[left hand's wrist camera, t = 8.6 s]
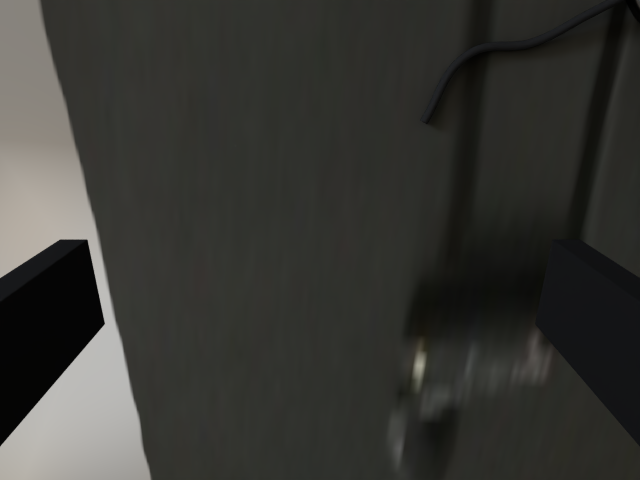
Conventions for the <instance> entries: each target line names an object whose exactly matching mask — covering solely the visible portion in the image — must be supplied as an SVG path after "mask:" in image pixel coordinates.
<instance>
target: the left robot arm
mask: <svg viewBox="0 0 640 480" xmlns="http://www.w3.org/2000/svg"><path fill="white" fill-rule="evenodd" d="M623 1H625V0H606V1H604V2H602V3H600V4H598V5H596V6H594V7H593V8H591V9H589V10H587V11H585V12H583V13H581V14H579V15H577V16H576V17H574V18H572V19H570V20H569V21H567V22H565V23H563V24H562V25H560V26H558V27H556V28H555V29H553V30H551V31H549V32H547V33H545V34H542V35H540V36H538V37H535V38H532V39H529V40H524V41H517V42H490V43H484V44H480V45H477V46H475V47H473V48H471V49H469V50H467V51H466V52H464V53H463V54H462V55H460V56H459V57H458V58H457V59H456V60H455V61H454V62H453V63H452V64H451V65H450V66H449V68H448V69H447V70H446V72H445V73H444V75H443V77H442V78H441V80H440V82H439V84H438V86H437V88H436V90H435V92H434V95H433V97H432V99H431V101H430V103H429V105H428V107H427V109H426V111H425V113H424V115H423V117H422V118H421V121H422V122H424V123H426V124H427V123H428V122H429V120H430V118H431V117H432V115H433V113H434V111H435V109H436V107H437V105H438V103H439V101H440V99H441V96H442V94H443V92H444V90H445V88H446V86H447V84H448V82H449V81H450V79H451V77H452V76H453V75H454V73H455V72H456V71H457V70H458V68H459V67H460V66H461V65H462V64H463V63H465V62H466V61H467V60H469V59H470V58H472V57H473V56H475V55H477V54H480V53H483V52H487V51H510V50H522V49H527V48H531V47H535V46H537V45H540V44H543V43H545V42H547V41H549V40H552V39H554V38H556V37H557V36H559V35H561V34H563V33H565V32H566V31H568V30H570V29H572V28H573V27H575V26H577V25H579V24H581V23H582V22H584V21H586V20H588V19H590V18H592V17H594V16H596V15H598V14H600V13H602V12H604V11H606V10H607V9H609V8H611V7H613V6H615V5H617V4H619V3H621V2H623ZM626 2H627V4H628V6H629V8H630V10H631V12H632V14H633V15H634V17H635V18H636V19H637V21H638V22H639V23H640V0H626ZM104 324H105V322H104V318H103V313H102V308H101V303H100V298H99V294H98V289H97V284H96V279H95V274H94V269H93V265H92V260H91V255H90V250H89V245H88V240H59V241H57V242H56V243H54V244H53V245H51V246H50V247H48V248H46V249H45V250H43V251H42V252H40V253H39V254H37V255H36V256H34V257H32V258H31V259H29V260H28V261H26V262H25V263H23V264H22V265H20V266H18V267H17V268H15V269H14V270H12V271H11V272H9V273H8V274H6V275H4V276H3V277H1V278H0V446H1V445H2V444H3V442H4V441H5V440H6V439H7V438H8V437H9V435H10V434H11V433H12V432H13V431H14V430H15V428H16V427H17V426H18V425H19V424H20V423H21V421H22V420H23V419H24V418H25V417H26V416H27V414H28V413H29V412H30V411H31V410H32V409H33V407H34V406H35V405H36V404H37V403H38V401H39V400H40V399H41V398H42V397H43V396H44V395H45V393H46V392H47V391H48V390H49V389H50V387H51V386H52V385H53V384H54V383H55V382H56V380H57V379H58V378H59V377H60V376H61V375H62V373H63V372H64V371H65V370H66V369H67V368H68V366H69V365H70V364H71V363H72V362H73V361H74V359H75V358H76V357H77V356H78V355H79V354H80V352H81V351H82V350H83V349H84V348H85V347H86V345H87V344H88V343H89V342H90V341H91V340H92V338H93V337H94V336H95V335H96V334H97V333H98V331H99V330H100V329H101V328H102V327H103V326H104ZM535 324H536V326H537V327H538V328H539V329H540V330H541V331H542V333H543V334H544V335H545V336H546V337H547V338H548V340H549V341H550V342H551V343H552V344H553V345H554V347H555V348H556V349H557V350H558V351H559V352H560V354H561V355H562V356H563V357H564V358H565V359H566V361H567V362H568V363H569V364H570V365H571V366H572V368H573V369H574V370H575V371H576V372H577V373H578V375H579V376H580V377H581V378H582V379H583V380H584V382H585V383H586V384H587V385H588V386H589V388H590V389H591V390H592V391H593V392H594V393H595V395H596V396H597V397H598V398H599V399H600V400H601V402H602V403H603V404H604V405H605V406H606V407H607V409H608V410H609V411H610V412H611V413H612V414H613V416H614V417H615V418H616V419H617V420H618V421H619V423H620V424H621V425H622V426H623V427H624V428H625V430H626V431H627V432H628V433H629V434H630V435H631V437H632V438H633V439H634V440H635V441H636V442H637V444H638V445H639V446H640V278H639V277H637V276H636V275H634V274H632V273H631V272H629V271H628V270H626V269H625V268H623V267H622V266H620V265H618V264H617V263H615V262H614V261H612V260H611V259H609V258H608V257H606V256H604V255H603V254H601V253H600V252H598V251H597V250H595V249H594V248H592V247H590V246H589V245H587V244H586V243H584V242H583V241H581V240H552V245H551V250H550V255H549V260H548V265H547V269H546V274H545V279H544V284H543V289H542V293H541V298H540V303H539V308H538V313H537V318H536V322H535Z"/></svg>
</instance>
